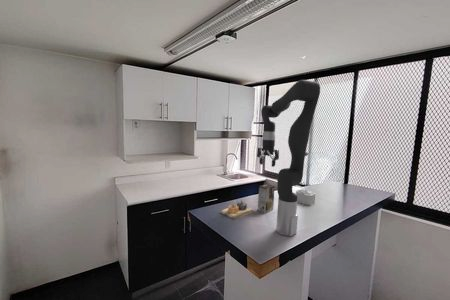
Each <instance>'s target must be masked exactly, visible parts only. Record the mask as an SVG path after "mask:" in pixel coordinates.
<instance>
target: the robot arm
mask: <svg viewBox="0 0 450 300" xmlns="http://www.w3.org/2000/svg"><path fill="white" fill-rule="evenodd" d="M320 95H321V85H320V83H319V82H317V81H315V80H308V79H307V80H306V79H299V80H298V81H296V82H295V83H294V84H293V85H292V86H291V87H290V88H289V89H287V91H286V92H285V94H283V96H281V97H280V98H278V99H277V100H275V101H273V103H272V104H271V105H270V104H269V105H267V104H266V105H263V106H262V108H261V111H260V113H261V117H262V123H263V124H262V125H263V129H262V130H263V132H262V137H261V140H262V141H261V147H257V154H256V157H257V158H259V164H260V165H264V157H265V156H267V157H270V158H271V167H273V168H274V167H275V166H276V161H277V160H280V150H279V149H275V147H276V146H275V145H276V122H275V121H271V118H273V119H275V118H277V117H279V116H280V115H281V113H283V112H284V111H286V110H288V109H289V108H290V107H291V104H292V102H294V101H300V102H304V103H303V108H302V110H301V113H300V114H299V116H298V117H297V118H296V120H294V122H293V124H292V125H291V126H290V129H289V133H288V139H287V144H288V147H289V151H290V154H291V160H290V166H289V167H288V168H287V167H286V168H282V169H280V170H279V171H278V174H277V182H276V183H277V187H276V191H277V195H278V199H277V211H276V212H277V216H276V230H275V231H276V232H277V233H278V234H280V235H282V236H287V237H292V236H294V235H295V234H297V233H298V232H297V230H298V218H299V216H298V214H297V210H298V202H297V198H298V196H297V194H296V192H293V187H296V186H298V185H300V184H302V181H303V177H304V167H305V158H306V155H307V154H306V153H307V149H308V148H307V147H308V143H309V138H310V133H311V127H312V123H313V119H314V115H315V111H316V108H317V105H318V102H319V99H320Z"/></svg>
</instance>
